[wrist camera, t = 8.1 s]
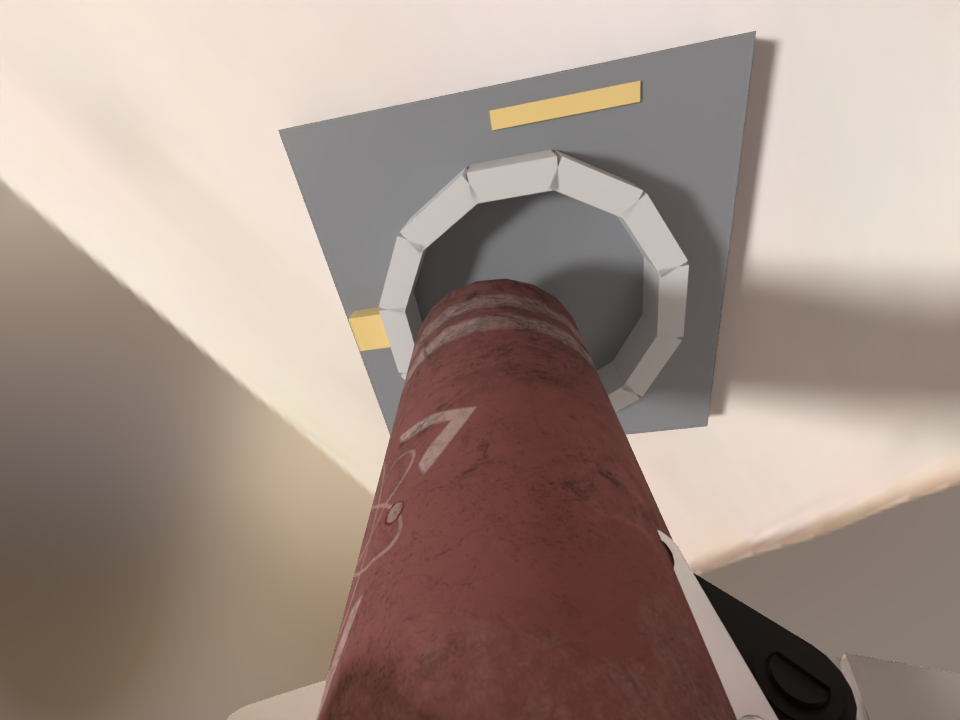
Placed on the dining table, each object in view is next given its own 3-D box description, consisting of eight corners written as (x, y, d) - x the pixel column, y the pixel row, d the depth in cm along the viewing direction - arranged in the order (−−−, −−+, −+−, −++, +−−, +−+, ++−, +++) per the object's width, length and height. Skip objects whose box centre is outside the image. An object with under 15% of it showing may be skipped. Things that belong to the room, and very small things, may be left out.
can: (459, 436, 19) (427, 1048, 7) (387, 310, 16) (80, 1020, 4) (597, 390, 17) (867, 1037, 5) (548, 246, 14) (913, 975, 2)
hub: (737, 35, 14) (793, 21, 12) (697, 411, 23) (725, 454, 20) (292, 127, 16) (250, 134, 14) (402, 442, 25) (390, 486, 22)
